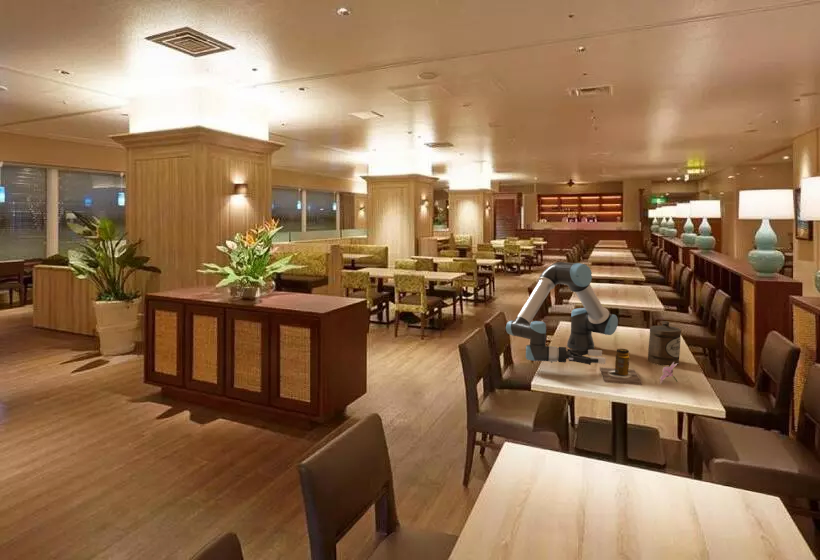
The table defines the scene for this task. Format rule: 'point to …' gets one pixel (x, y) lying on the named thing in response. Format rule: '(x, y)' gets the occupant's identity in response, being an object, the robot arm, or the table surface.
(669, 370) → the lily
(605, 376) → the board
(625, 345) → the table surface
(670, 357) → the wooden container
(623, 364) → the condiment
